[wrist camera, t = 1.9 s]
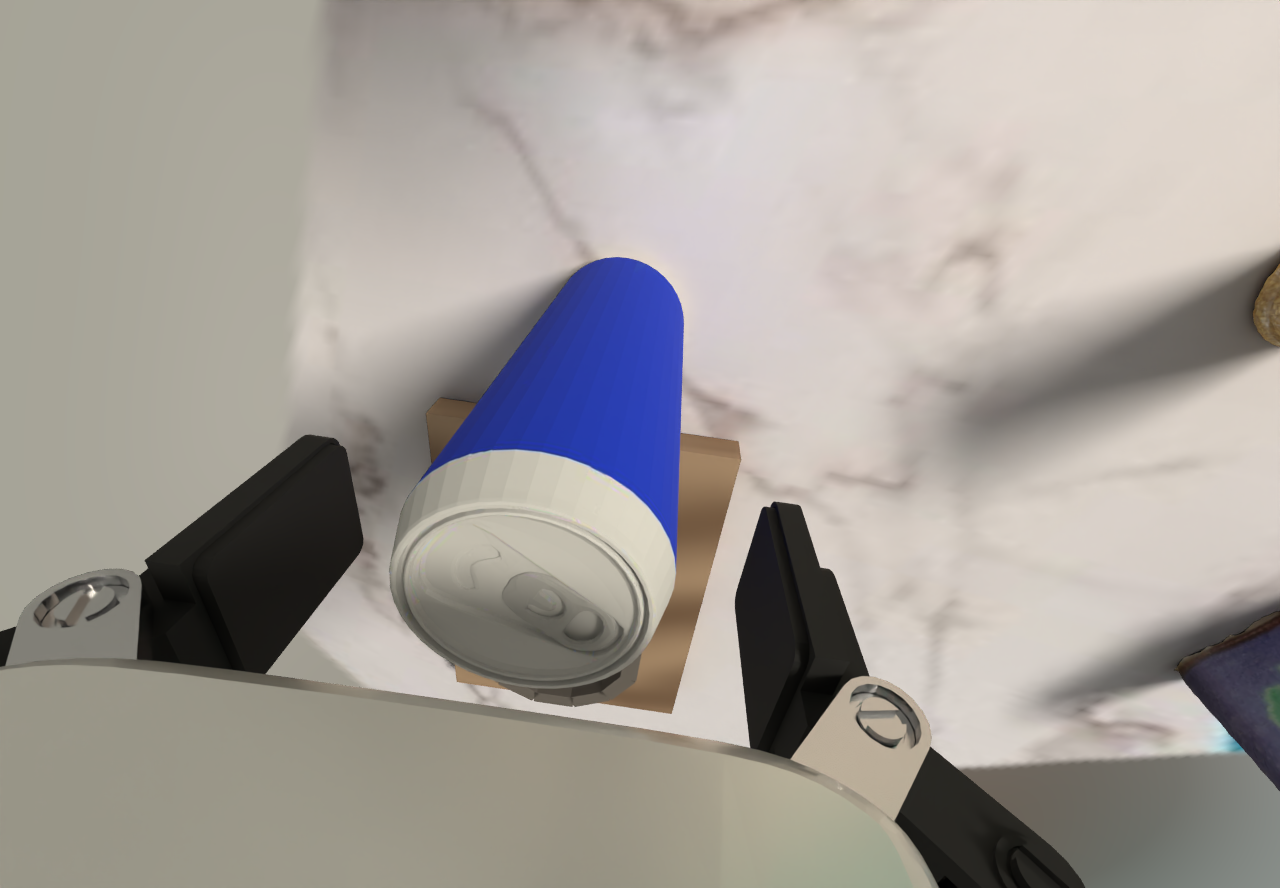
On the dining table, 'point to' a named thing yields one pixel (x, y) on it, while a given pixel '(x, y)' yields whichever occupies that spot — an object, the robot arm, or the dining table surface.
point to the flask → (1243, 689)
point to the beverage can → (557, 494)
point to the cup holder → (699, 528)
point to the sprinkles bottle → (1269, 309)
